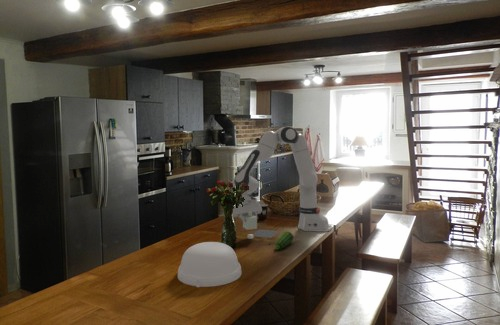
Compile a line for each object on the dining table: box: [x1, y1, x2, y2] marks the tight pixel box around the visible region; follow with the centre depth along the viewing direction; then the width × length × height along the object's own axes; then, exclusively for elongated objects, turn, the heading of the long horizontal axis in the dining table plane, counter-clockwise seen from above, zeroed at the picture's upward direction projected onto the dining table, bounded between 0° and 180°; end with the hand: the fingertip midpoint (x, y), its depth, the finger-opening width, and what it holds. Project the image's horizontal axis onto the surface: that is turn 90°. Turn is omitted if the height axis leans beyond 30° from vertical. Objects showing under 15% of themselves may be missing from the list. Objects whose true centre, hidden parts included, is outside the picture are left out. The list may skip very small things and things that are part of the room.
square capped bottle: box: [242, 212, 258, 231], centre depth 239 cm, size 6×6×10 cm
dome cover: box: [177, 241, 242, 288], centre depth 184 cm, size 32×30×14 cm
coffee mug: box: [257, 203, 269, 221], centre depth 291 cm, size 12×9×10 cm
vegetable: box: [274, 231, 294, 251], centre depth 223 cm, size 7×7×20 cm
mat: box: [252, 228, 280, 239], centre depth 249 cm, size 14×16×1 cm
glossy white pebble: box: [247, 233, 254, 240], centre depth 240 cm, size 4×4×2 cm
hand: (250, 220), depth 238 cm, fingers closed on square capped bottle, 6 cm apart
